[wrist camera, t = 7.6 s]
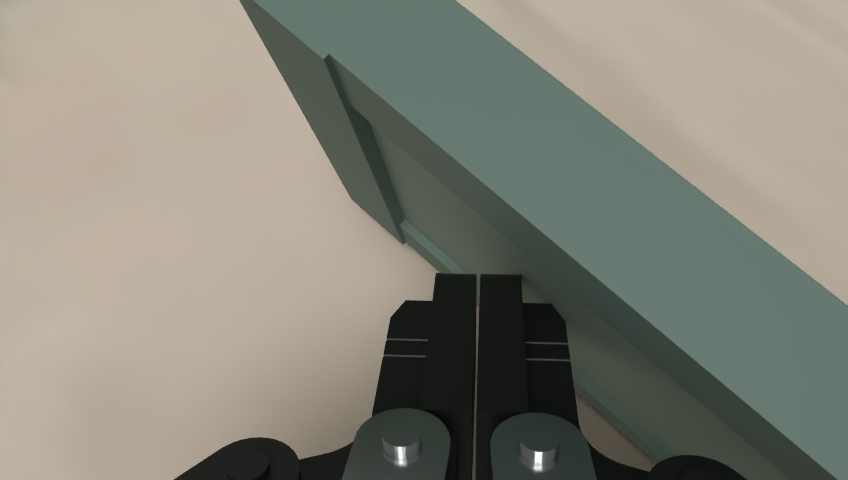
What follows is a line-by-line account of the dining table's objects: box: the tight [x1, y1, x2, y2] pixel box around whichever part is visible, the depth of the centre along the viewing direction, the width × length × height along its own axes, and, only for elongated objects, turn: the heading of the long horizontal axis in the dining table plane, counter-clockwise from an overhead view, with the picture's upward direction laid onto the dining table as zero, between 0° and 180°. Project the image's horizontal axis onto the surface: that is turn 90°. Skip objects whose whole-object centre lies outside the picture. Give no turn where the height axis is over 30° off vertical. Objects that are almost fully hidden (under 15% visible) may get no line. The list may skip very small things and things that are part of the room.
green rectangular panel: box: [240, 0, 848, 480], centre depth 14 cm, size 17×2×10 cm, turn 47°
